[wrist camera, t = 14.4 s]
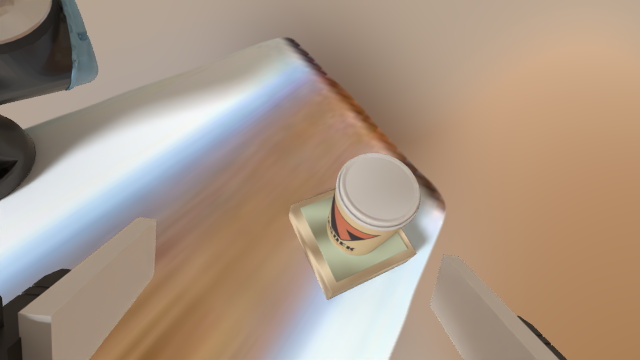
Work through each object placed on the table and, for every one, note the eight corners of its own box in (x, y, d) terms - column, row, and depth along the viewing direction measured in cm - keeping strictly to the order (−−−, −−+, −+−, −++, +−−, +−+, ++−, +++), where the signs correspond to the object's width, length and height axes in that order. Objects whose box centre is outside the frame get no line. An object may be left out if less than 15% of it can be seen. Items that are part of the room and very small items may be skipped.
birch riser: (288, 217, 51) (291, 204, 47) (362, 189, 55) (370, 175, 52) (327, 300, 46) (333, 293, 42) (405, 262, 50) (417, 252, 47)
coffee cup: (307, 217, 47) (320, 171, 36) (360, 188, 50) (386, 138, 40) (347, 276, 43) (374, 243, 33) (400, 240, 47) (440, 200, 37)
